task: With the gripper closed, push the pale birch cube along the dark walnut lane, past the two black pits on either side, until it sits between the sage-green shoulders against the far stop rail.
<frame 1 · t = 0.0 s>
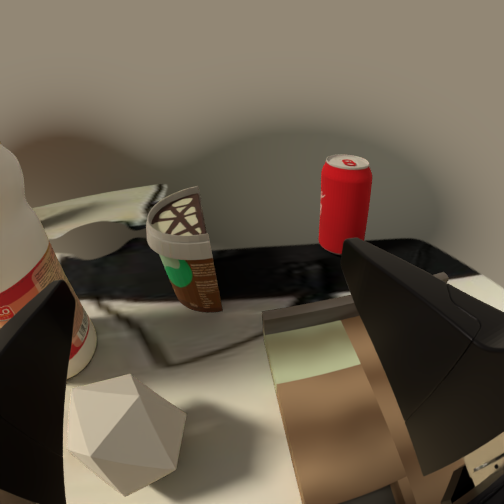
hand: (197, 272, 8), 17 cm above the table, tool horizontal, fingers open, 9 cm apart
beverage can: (340, 246, 37), on the table
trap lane: (426, 459, 14), on the table
fruit juice: (66, 350, 25), on the table
die: (146, 450, 17), on the table
food container: (191, 289, 33), on the table
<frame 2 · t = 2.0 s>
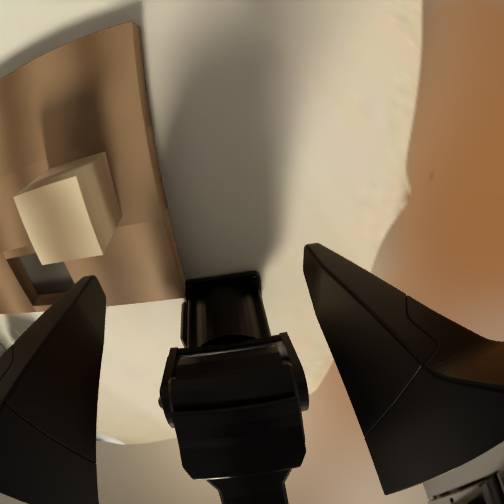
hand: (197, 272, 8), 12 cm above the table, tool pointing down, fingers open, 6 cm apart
birch cube: (84, 191, 16), point 2 cm above the table, touching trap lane
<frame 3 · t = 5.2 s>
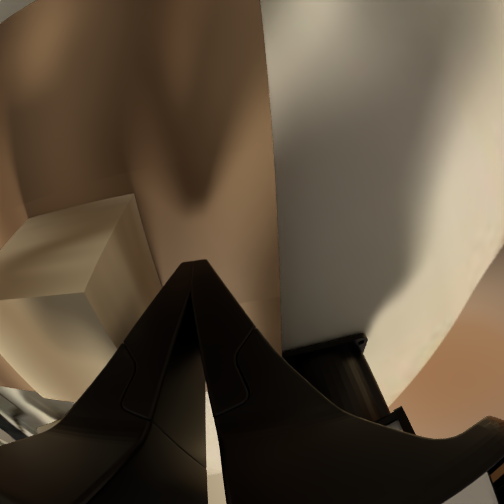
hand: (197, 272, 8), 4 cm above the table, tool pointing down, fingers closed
birch cube: (95, 261, 9), point 2 cm above the table, touching gripper
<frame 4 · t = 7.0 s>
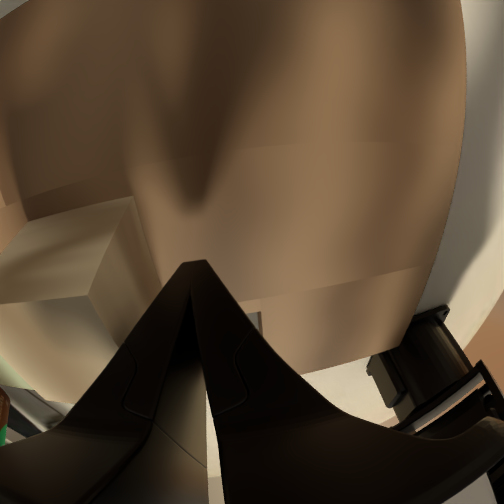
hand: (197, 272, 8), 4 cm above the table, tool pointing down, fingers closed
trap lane: (86, 237, 11), on the table
birch cube: (95, 263, 9), point 2 cm above the table, touching gripper, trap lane
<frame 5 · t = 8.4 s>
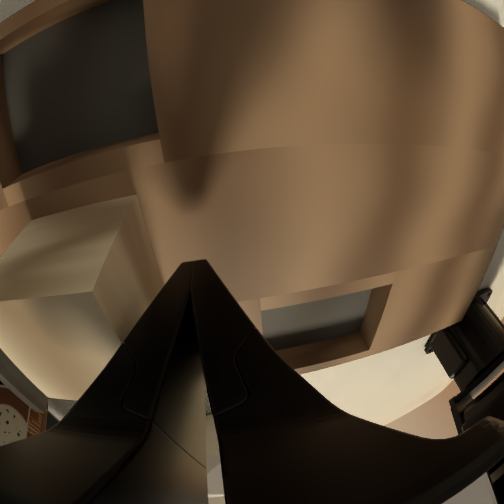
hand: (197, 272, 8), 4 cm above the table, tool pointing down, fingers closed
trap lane: (234, 211, 11), on the table
die: (199, 422, 23), on the table
birch cube: (98, 261, 9), point 2 cm above the table, touching gripper
food container: (27, 399, 19), on the table
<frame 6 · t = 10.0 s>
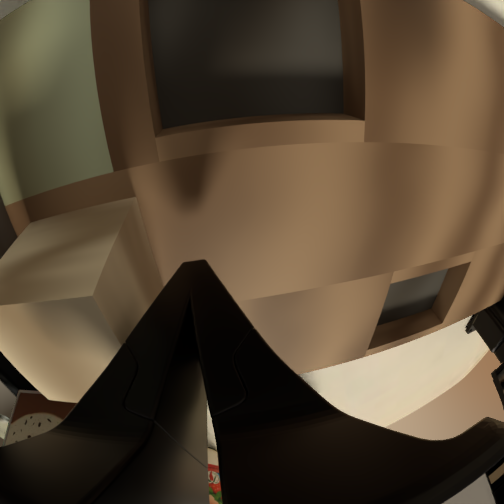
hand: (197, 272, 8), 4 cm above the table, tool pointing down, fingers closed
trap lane: (374, 195, 12), on the table
fruit juice: (183, 451, 29), on the table
birch cube: (97, 263, 9), point 2 cm above the table, touching gripper, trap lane
food container: (67, 405, 20), on the table
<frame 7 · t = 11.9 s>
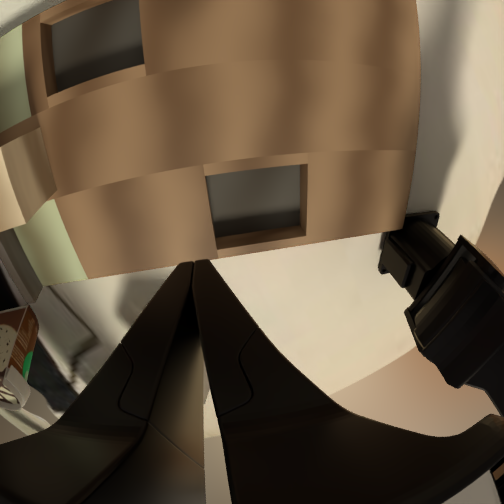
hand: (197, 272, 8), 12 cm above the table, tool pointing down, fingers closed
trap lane: (189, 113, 16), on the table
birch cube: (24, 168, 13), point 2 cm above the table, touching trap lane
food container: (20, 326, 24), on the table
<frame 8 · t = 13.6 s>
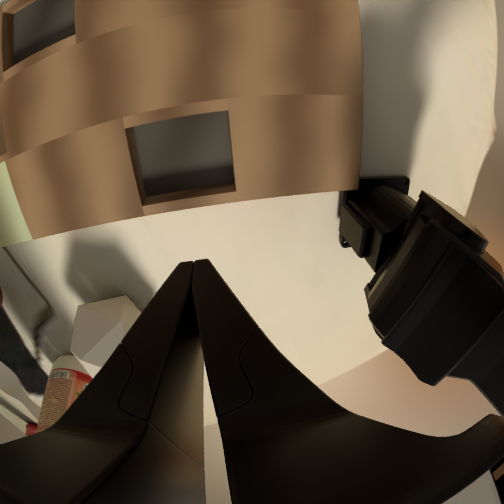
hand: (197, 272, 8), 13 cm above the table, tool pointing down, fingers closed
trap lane: (118, 75, 14), on the table
fruit juice: (83, 371, 32), on the table
die: (120, 312, 26), on the table
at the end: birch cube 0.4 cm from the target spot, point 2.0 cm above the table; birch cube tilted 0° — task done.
